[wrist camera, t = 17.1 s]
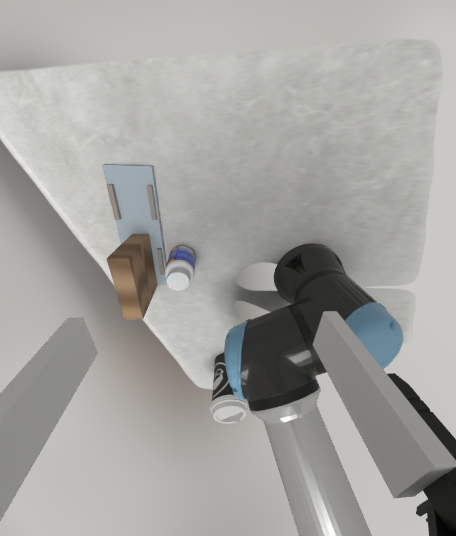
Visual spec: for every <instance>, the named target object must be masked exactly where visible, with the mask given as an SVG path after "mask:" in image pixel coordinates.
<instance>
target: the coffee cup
mask: <svg viewBox="0 0 456 536" xmlns="http://www.w3.org/2000/svg"><path fill="white" fill-rule="evenodd" d="M247 409H248V401H247V400H246V399H245V400H242V399H238V398H237V397H236V396H235V395H234V393H233V390H232V387H231V386H230V384H229V380H228V376H227V371H226V365H225V353H222V354H220V355H218V356H217V357H216V359H215V370H214V383H213V396H212V402H211V404H210V411H211V413H212V415H213V418H214V419H215V420H216V421H217V422H220V423H226V424H229V423H235V422H238V421H241V420H242V419H243V418H244V417H245V416H246V412H247Z"/></svg>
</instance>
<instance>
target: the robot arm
mask: <svg viewBox="0 0 456 536" xmlns="http://www.w3.org/2000/svg"><path fill="white" fill-rule="evenodd" d="M274 283H275V286H276V288H277V290H278V292H279V294H280V295H281V296H282V297H283V298H284V299H285V300H286V301H288V302H290V303H291V304H292V305H289V306H286V307H284V308H281V309H278V310H276V311H273V312H271V313H268V314H266V315H263V316H260V317H257V318H255V319H253V320H250V319H249V320H247V321H246V322H244V323H242V324H240V325H237V326H235V327H233V328H232V329H230V330H229V332H228V334H227V336H226V340H225V349H224V353H225V365H226V371H227V376H228V380H229V384H230V386H231V387H232V390H233V393H234V395H235V396H236V397H237V398H238V399H242V400H245V399H247V401H248V404H249V408H250V411H251V413H253V414H254V415H256V416H257V417H258V418H260V419H262V420H263V422H264V424H265V427H266V430H267V434H268V436H269V440H270V443H271V447H272V450H273V453H274V456H275V460H276V462H277V466H278V469H279V472H280V475H281V478H282V482H283V485H284V488H285V492H286V495H287V498H288V501H289V505H290V507H291V511H292V514H293V517H294V521H295V524H296V526H297V530H298V533H299V536H372V535H371V533H370V530H369V528H368V526H367V523H366V521H365V519H364V516H363V514H362V511H361V509H360V507H359V504H358V502H357V500H356V497H355V495H354V493H353V490H352V488H351V485H350V483H349V481H348V478H347V476H346V473H345V471H344V469H343V466H342V464H341V462H340V459H339V457H338V455H337V452H336V450H335V447H334V445H333V443H332V440H331V438H330V436H329V433H328V431H327V429H326V426H325V424H324V421H323V419H322V417H321V414H320V412H319V410H318V407H317V399H318V396H319V393H320V387H319V384H318V382H317V380H316V378H315V376H316V375H319V374H322V373H325V372H327V373H328V375H329V377H330V378H331V380H332V382H333V384H334V386H335V388H336V390H337V392H338V393H339V395H340V397H341V399H342V401H343V403H344V405H345V407H346V409H347V411H348V412H349V414H350V416H351V418H352V420H353V422H354V424H355V426H356V427H357V429H358V431H359V433H360V435H361V437H362V439H363V441H364V443H365V444H366V446H367V448H368V450H369V452H370V454H371V456H372V458H373V459H374V461H375V463H376V465H377V467H378V469H379V471H380V473H381V474H382V476H383V478H384V480H385V482H386V484H387V486H388V488H389V490H390V492H391V494H392V495H393V497H394V498H402V497H412V496H415V495H417V494H418V493H420V492H421V491H422V490H423V491H424V493H425V494H426V496H427V498H428V500H426V501H425V502H423V503H422V504H420V505H419V506H418V507H417V511H416V514H418V515H419V516H422V515H424V514H425V513H427V516H428V518H427V519H426V521H427V522H428V527H429V536H456V439H455V438H454V437H453V436H452V435H451V433H450V432H449V431H448V430H447V429H446V427H445V426H444V425H443V424H442V423H441V422H440V421H439V419H438V418H437V417H436V416H435V415H434V413H433V412H431V411H430V409H429V408H428V406H427V405H426V404H425V403H424V402H423V401H421V400H420V397H419V396H418V395H417V394H416V393H415V391H414V390H413V389H412V388H411V387H410V386H409V384H407V383H406V382H405V381H403V380H402V379H401V378H399V376H397V375H396V374H395V373H394V374H386V373H385V371H384V370H383V369H384V368H385V367H387V366H388V365H389V364H390V363H391V362H392V360H393V359H394V358H395V357H396V356H397V354H398V352H399V351H400V348H401V346H402V342H403V332H402V329H401V327H400V325H399V324H398V322H397V321H396V320H395V319H394V318H393V317H392V316H391V315H390V314H389V313H388V312H387V311H386V309H385V307H384V306H383V305H381V304H380V303H378V302H376V301H375V300H374V299H373V298H372V297H371V296H370V295H368V294H367V293H366V292H365V291H364V290H363V289H362V288H360V287H359V286H358V285H357V284H356V283H355V282H354V281H352V280H351V279H350V278H349V277H348V276H347V275H346V273H345V271H344V268H343V266H342V263H341V261H340V259H339V258H338V256H337V255H336V254H335V253H334V252H333V251H331V250H330V249H329V248H327V247H325V246H323V245H319V244H307V245H302V246H299V247H297V248H295V249H293V250H291V251H290V252H288V253H287V254H286V255H285V256H284V257H283V258H282V259H281V260H280V262H279V263H278V265H277V267H276V269H275V273H274ZM97 354H98V352H97V350H96V347H95V345H94V342H93V340H92V337H91V335H90V333H89V330H88V328H87V326H86V323H85V321H84V319H83V318H67V319H66V321H65V322H64V323H63V324H62V325H61V326H60V327H59V328H58V330H57V331H56V332H55V333H54V334H53V335H52V336H51V337H50V338H49V340H48V341H47V342H46V343H45V344H44V346H42V347H41V349H40V350H39V351H38V352H37V353H36V354H35V355H34V356H33V358H32V359H31V360H30V361H29V362H28V363H27V364H26V366H25V367H24V368H23V369H22V370H21V371H20V372H19V373H18V374H17V376H16V377H15V378H14V379H13V380H12V381H11V382H10V383H9V384H8V386H7V387H6V388H5V389H4V390H3V391H2V392H1V394H0V521H1V519H2V517H3V516H4V514H5V512H6V510H7V509H8V507H9V505H10V504H11V502H12V500H13V498H14V497H15V495H16V493H17V491H18V490H19V488H20V486H21V485H22V483H23V481H24V479H25V478H26V476H27V474H28V472H29V471H30V469H31V467H32V466H33V464H34V462H35V460H36V459H37V457H38V455H39V454H40V452H41V450H42V448H43V446H44V445H45V443H46V441H47V440H48V438H49V436H50V435H51V433H52V431H53V429H54V428H55V426H56V424H57V423H58V421H59V419H60V417H61V416H62V414H63V412H64V411H65V409H66V407H67V405H68V404H69V402H70V400H71V398H72V397H73V395H74V393H75V392H76V390H77V388H78V386H79V385H80V383H81V381H82V379H83V378H84V376H85V374H86V373H87V371H88V369H89V367H90V366H91V364H92V362H93V361H94V359H95V357H96V355H97Z"/></svg>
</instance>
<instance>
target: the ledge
mask: <svg viewBox="0 0 456 536" xmlns="http://www.w3.org/2000/svg"><path fill="white" fill-rule="evenodd" d="M102 166H103V170H104V174H105V178H106V182H107V188H108V192H109V196H110V200H111V204H112V209H113V213H114V217H115V220H116V223H117V227H118V231H119V236H120V240H121V244H122V243H123V242H124V241H125V240H126V239H127V238H128V237H129V236H130V235H132V234H149V237H150V243H151V249H152V254H153V260H154V266H155V272H156V278H157V284H158V285H167V279H166V277H165V268H166V258H165V250H164V243H163V235H162V228H161V221H160V213H159V206H158V199H157V191H156V184H155V177H154V169H153V166H135V165H102Z"/></svg>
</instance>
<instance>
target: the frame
mask: <svg viewBox="0 0 456 536" xmlns="http://www.w3.org/2000/svg"><path fill="white" fill-rule="evenodd" d="M107 262H108V265H109V268H110V272H111V275H112V279H113V282H114V285H115V289H116V292H117V296H118V299H119V303H120V306H121V309H122V313H123V316H124V319H143V318H144V316H145V313H146V311H147V309H148V306H149V304H150V301H151V299H152V297H153V294H154V292H155V290H156V287H157V285H158V284H157V278H156V272H155V266H154V260H153V254H152V249H151V243H150V237H149V234H132V235H130V236H129V237H128V238H127V239H126V240H125V241H124V242H123V243H122V244H121V245H120V246H119V247H118V248H117V249H116V250H115V251H114V252H113V253H112V254H111V255H110V256H109V257H108V258H107Z"/></svg>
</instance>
